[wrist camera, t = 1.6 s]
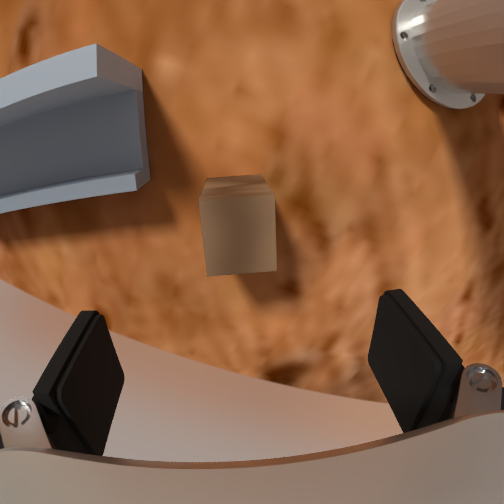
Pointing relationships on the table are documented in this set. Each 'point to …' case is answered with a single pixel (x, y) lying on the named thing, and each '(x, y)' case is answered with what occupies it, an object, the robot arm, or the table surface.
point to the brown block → (238, 225)
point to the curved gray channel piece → (72, 129)
